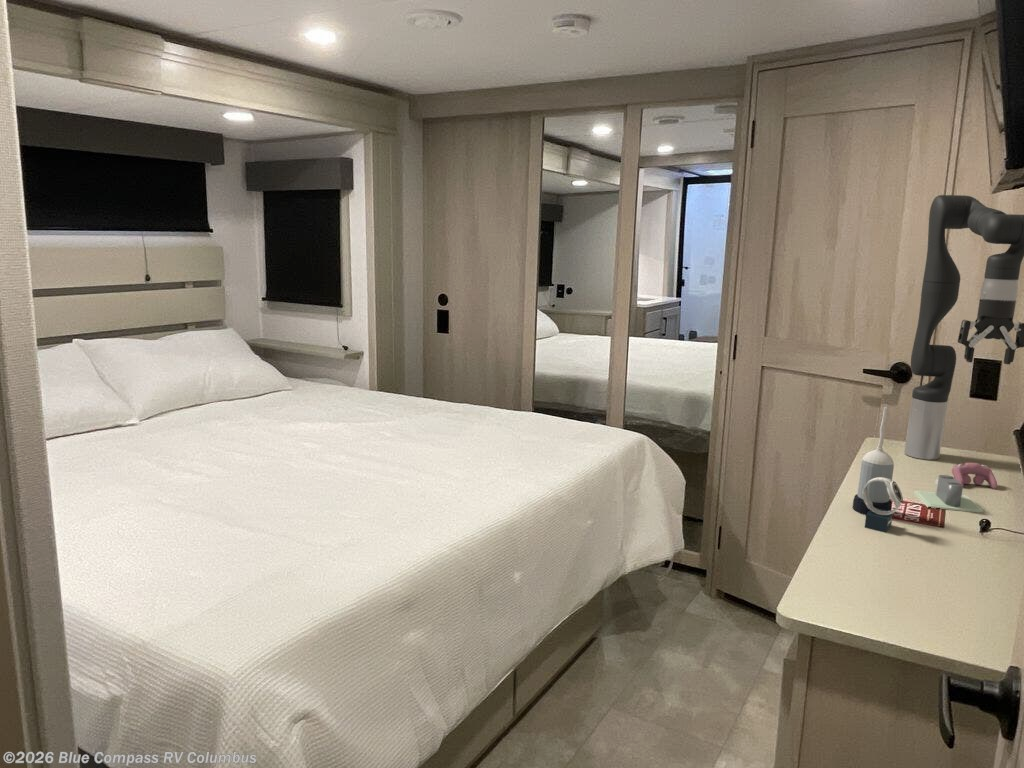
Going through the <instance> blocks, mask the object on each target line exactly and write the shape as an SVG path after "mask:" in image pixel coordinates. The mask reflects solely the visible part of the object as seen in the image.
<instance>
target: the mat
mask: <svg viewBox="0 0 1024 768" xmlns="http://www.w3.org/2000/svg"><path fill="white" fill-rule="evenodd" d="M936 493H937V492H935V491H932V492H931V491H923V490H913V494H914V495H915V496H916V497H917V498H918V499H919V500H920V501H921V502H922V504H923V505H925V506H926V507H927V508H928V507H931V508H930V509H936V508H940V509H939V510H948V511H962V512H969V513H970V512H972V513H982V514H984V513H985V511H984V510H983V509H982V508H981V507H980V506H979V505H978V504H977V503H975V502H974V501H973V500H972V499H971V498H970V497H968V496H967V495H965V494H962V497H961V503H960V506H959V507H953V506H948V505H946V504H945V503H944V502H943V501H942V500H941V499H940V498H939V497H938V496H937V495H936Z"/></svg>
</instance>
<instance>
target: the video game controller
mask: <svg viewBox="0 0 1024 768" xmlns="http://www.w3.org/2000/svg"><path fill="white" fill-rule="evenodd" d="M951 474H952V475H953V477H954V478H955V479H956V480H957V481H958V482H959V483H961V484H962V485H963V486H964V485H969V484H971V482H972V481H973V484H974V485H976V486H980V485H982V484H984V482H985V481H986V482H987V484H988V486H989V487H990V488H992V490H993V489H994V490H996V489H997V487H998V483H997V479H996V477H995V474H994V473H993V470H992V469H991V468H990V467H989V466H988V464H982V463H979V462H963V463H957V464H956V465H955V466H953V467H952V468H951ZM970 475H974V477H973V478H971V476H970Z"/></svg>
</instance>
